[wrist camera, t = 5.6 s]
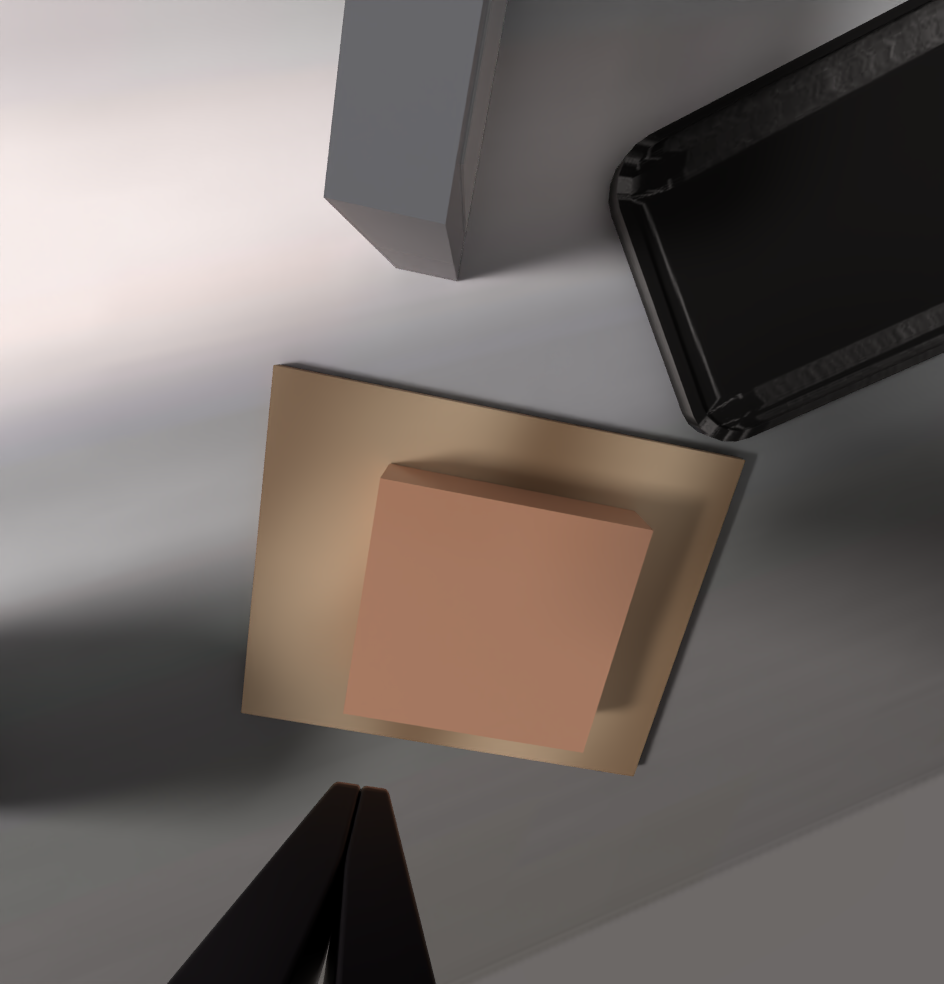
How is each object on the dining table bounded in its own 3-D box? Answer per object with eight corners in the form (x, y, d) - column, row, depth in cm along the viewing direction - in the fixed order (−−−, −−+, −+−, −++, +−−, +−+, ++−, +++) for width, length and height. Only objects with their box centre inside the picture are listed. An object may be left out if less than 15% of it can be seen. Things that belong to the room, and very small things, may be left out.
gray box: (518, -48, 12) (584, -570, 5) (458, 281, 14) (448, 224, 7) (446, -67, 12) (414, -624, 5) (395, 268, 14) (323, 196, 7)
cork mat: (738, 457, 15) (745, 460, 14) (630, 766, 18) (633, 776, 17) (278, 364, 14) (273, 365, 14) (246, 704, 17) (240, 712, 17)
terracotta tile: (389, 463, 14) (633, 510, 15) (355, 677, 16) (572, 714, 17) (380, 478, 13) (653, 530, 13) (343, 713, 15) (582, 752, 15)
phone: (602, 159, 12) (1304, -207, 10) (591, 174, 13) (1226, -155, 12) (708, 460, 14) (1316, 193, 12) (692, 451, 15) (1247, 206, 13)
